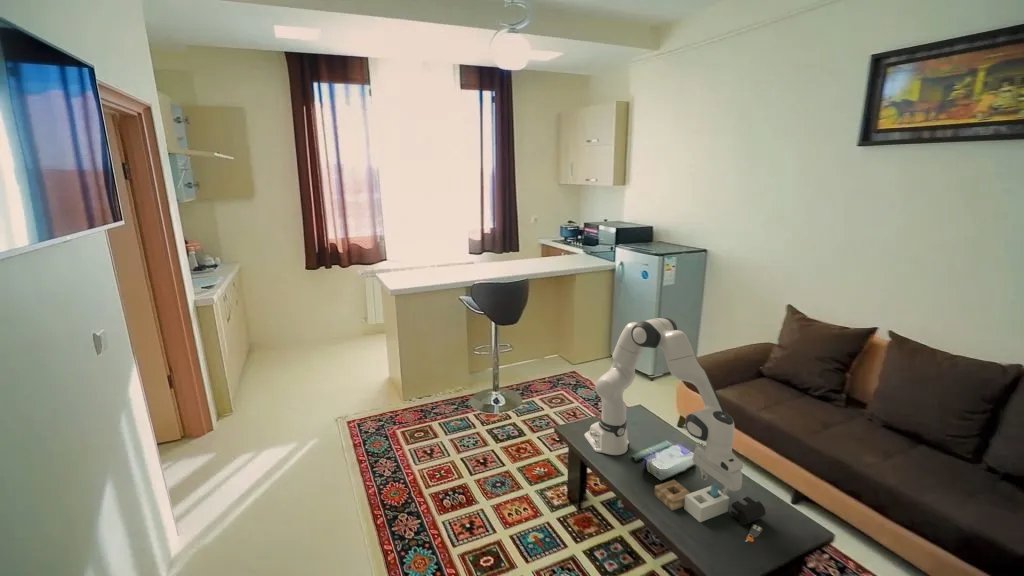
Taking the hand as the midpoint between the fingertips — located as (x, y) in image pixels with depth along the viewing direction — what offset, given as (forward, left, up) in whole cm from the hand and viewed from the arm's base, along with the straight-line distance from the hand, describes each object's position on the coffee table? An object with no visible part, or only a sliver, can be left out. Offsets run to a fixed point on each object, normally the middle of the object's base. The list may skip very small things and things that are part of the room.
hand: (713, 486), depth 176 cm
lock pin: (0, 0, -9) cm, 9 cm away
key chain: (+17, +1, -10) cm, 20 cm away
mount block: (-10, -10, -9) cm, 17 cm away
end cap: (+10, +7, -10) cm, 16 cm away
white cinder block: (0, -3, -9) cm, 10 cm away
